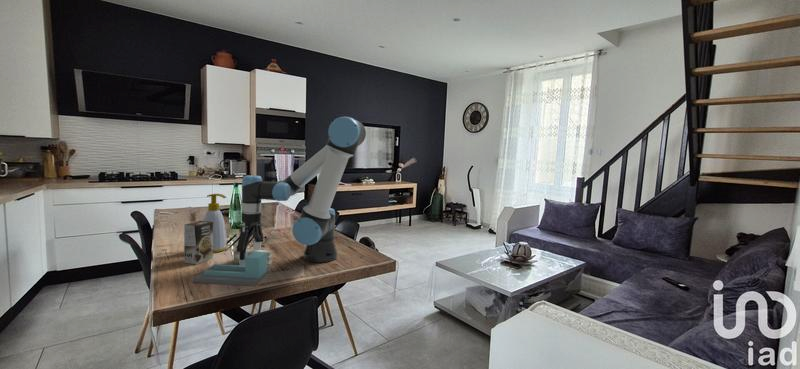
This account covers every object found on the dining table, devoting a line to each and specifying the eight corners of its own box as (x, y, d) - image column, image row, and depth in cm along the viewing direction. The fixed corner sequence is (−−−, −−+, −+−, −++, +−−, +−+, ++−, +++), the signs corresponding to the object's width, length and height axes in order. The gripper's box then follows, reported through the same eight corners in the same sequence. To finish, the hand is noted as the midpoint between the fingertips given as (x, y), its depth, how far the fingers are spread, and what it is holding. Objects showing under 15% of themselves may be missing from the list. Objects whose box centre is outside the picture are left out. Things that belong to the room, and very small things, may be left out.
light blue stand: (270, 271, 135) (270, 249, 134) (254, 285, 121) (255, 261, 120) (214, 268, 135) (214, 246, 134) (193, 282, 121) (192, 257, 120)
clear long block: (272, 262, 147) (272, 250, 146) (269, 264, 143) (269, 253, 143) (237, 260, 147) (237, 248, 146) (233, 262, 143) (233, 251, 143)
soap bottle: (216, 254, 151) (217, 196, 149) (193, 252, 153) (193, 194, 151) (233, 247, 162) (233, 193, 160) (211, 245, 164) (211, 191, 162)
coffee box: (197, 264, 138) (197, 225, 136) (183, 262, 139) (183, 224, 137) (213, 258, 147) (213, 221, 145) (200, 256, 148) (200, 220, 146)
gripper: (255, 206, 155) (254, 252, 157) (227, 217, 130) (226, 271, 132) (271, 207, 155) (270, 253, 157) (246, 218, 130) (245, 272, 132)
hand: (250, 261), depth 145 cm, fingers open, 13 cm apart
